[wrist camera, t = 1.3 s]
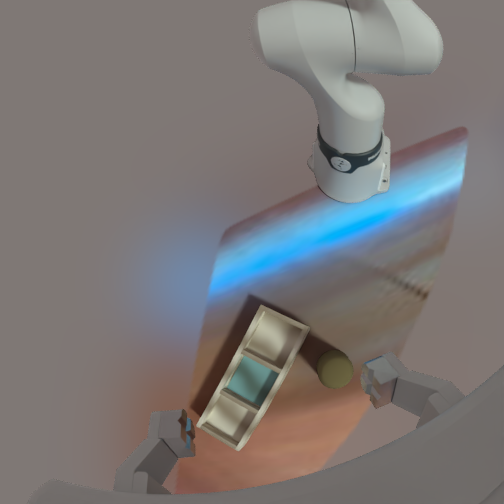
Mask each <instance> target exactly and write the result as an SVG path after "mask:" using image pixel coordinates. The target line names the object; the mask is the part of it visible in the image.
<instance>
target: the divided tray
mask: <svg viewBox="0 0 504 504" xmlns="http://www.w3.org/2000/svg"><path fill="white" fill-rule="evenodd" d="M309 330H310V327H308V326H306V325H303V324H301V323H299V322H297V321H295V320H293V319H290V318H288V317H286V316H284V315H282V314H280V313H278V312H276V311H273V310H271V309H269V308H267V307H265V306H263V305H260V307H259V309H258V311H257V313H256V315H255V317H254V319H253V321H252V323H251V325H250V327H249V329H248V330H247V332H246V334H245V336H244V338H243V340H242V342H241V344H240V346H239V348H238V350H237V352H236V354H235V355H234V357H233V359H232V361H231V363H230V365H229V367H228V369H227V370H226V372H225V374H224V376H223V378H222V380H221V382H220V383H219V385H218V387H217V389H216V391H215V393H214V394H213V396H212V398H211V400H210V402H209V404H208V405H207V407H206V409H205V411H204V413H203V414H202V416H201V418H200V420H199V422H198V423H197V425H196V426H198V427H199V428H201V429H202V430H204V431H205V432H207V433H208V434H210V435H212V436H213V437H215V438H217V439H218V440H220V441H222V442H223V443H225V444H227V445H228V446H230V447H232V448H234V449H235V450H237V451H240V450H241V449H242V448H243V446H244V445H245V444H246V442H247V441H248V439H249V438H250V436H251V435H252V433H253V431H254V430H255V428H256V427H257V425H258V423H259V422H260V420H261V418H262V417H263V415H264V413H265V412H266V410H267V408H268V407H269V405H270V403H271V401H272V400H273V398H274V396H275V395H276V393H277V391H278V389H279V387H280V386H281V384H282V382H283V380H284V378H285V377H286V375H287V373H288V371H289V369H290V367H291V365H292V364H293V362H294V360H295V358H296V356H297V354H298V352H299V350H300V348H301V346H302V344H303V342H304V340H305V338H306V336H307V334H308V332H309Z"/></svg>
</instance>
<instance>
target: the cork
mask: <svg viewBox="0 0 504 504" xmlns="http://www.w3.org/2000/svg"><path fill="white" fill-rule="evenodd" d="M317 372H318V377H319V379H320V381H321V383H322V384H323V385H325V386H326V387H328V388H333V389H336V388H341V387H343V386H345V385H346V384H347V383H348V382H349V381H350V380H351V378H352V375H353V365H352V362H351V361H350V360H349V359H348V357H347V356H346V354H345V353H343V352H341V351H338V350H330V351H328V352H325V353H324V354H323V355H322V356H321V357H320V358H319V360H318V362H317Z"/></svg>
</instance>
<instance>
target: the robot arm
mask: <svg viewBox="0 0 504 504" xmlns="http://www.w3.org/2000/svg"><path fill="white" fill-rule="evenodd" d="M249 40H250V44H251V47H252V49H253V51H254V53H255V55H256V56H257V57H258V59H259V60H260V61H261V62H262V63H263V64H265V65H266V66H267V67H269V68H270V69H272V70H276V71H278V72H280V73H283V74H285V75H287V76H289V77H290V78H292V79H294V80H295V81H297V82H298V83H299V84H300V85H301V86H302V87H304V88H305V89H306V90H307V92H308V93H309V94H310V95H311V97H312V98H313V100H314V103H315V106H316V110H317V114H318V120H319V124H318V129H317V139H316V141H315V142H313V154H312V156H311V157H310V158H309V159H308V166H309V168H310V169H311V170H312V171H313V172H314V174H315V177H316V181H317V183H318V185H319V187H320V188H321V190H322V191H323V192H324V193H325V194H326V195H328V196H329V197H331V198H333V199H335V200H337V201H341V202H345V203H356V202H361V201H364V200H366V199H368V198H370V197H371V196H373V195H375V194H379V193H384V192H387V191H388V190H389V182H390V140H389V139H388V138H387V137H386V136H385V135H384V130H383V129H382V125H383V118H384V111H385V106H384V101H383V98H382V96H381V95H380V93H379V92H378V91H377V90H376V89H375V88H374V87H373V86H372V85H371V84H370V83H369V82H367V81H366V80H364V79H362V78H360V77H358V76H356V75H354V74H352V73H353V72H362V73H378V74H388V75H397V76H405V75H425V74H431V73H432V72H433V71H434V70H435V69H436V68H437V67H438V65H439V64H440V62H441V59H442V55H443V42H442V38H441V35H440V32H439V30H438V28H437V27H436V25H435V24H434V22H433V21H432V20H431V19H430V17H429V16H427V15H426V14H425V13H424V12H423V11H422V10H421V9H420V8H419V7H418V6H417V5H416V4H415V3H414V2H413V1H412V0H290V1H286V2H282V3H279V4H275V5H272V6H268V7H265V8H262V9H260V10H259V11H258V12H257V13H256V15H255V16H254V18H253V19H252V22H251V24H250V29H249ZM383 181H385V182H383ZM362 371H363V374H362V375H361V385H362V387H363V390H364V391H365V393H366V394H369V395H370V401H371V402H372V404H373V405H374V407H375V408H376V409H377V408H379V407H382V406H384V405H386V404H389V403H391V402H392V403H393V404H394V405H396V406H398V407H401V408H403V409H405V410H407V411H409V412H411V413H413V414H415V415H417V416H419V417H420V419H419V422H418V424H417V427H416V428H417V429H416V430H414V431H412V432H410V433H408V434H407V435H404V436H403V437H401V438H399V439H397V440H395V441H393V442H391V443H389V444H387V445H385V446H383V447H381V448H378V449H376V450H374V451H372V452H369V453H367V454H365V455H362V456H360V457H358V458H355V459H353V460H350V461H347V462H345V463H342V464H339V465H336V466H334V467H331V468H328V469H325V470H322V471H318V472H315V473H312V474H308V475H305V476H301V477H298V478H294V479H290V480H286V481H282V482H277V483H273V484H268V485H263V486H258V487H252V488H246V489H239V490H232V491H223V492H213V493H200V494H171V493H170V492H169V491H168V490H167V489H166V488H164V487H163V486H162V484H163V482H164V481H165V479H166V477H167V476H168V474H169V473H170V471H171V470H172V468H173V467H174V465H175V464H176V462H177V460H178V458H184V457H193V456H196V453H195V444H194V442H193V440H194V438H195V429H194V425H193V423H192V421H191V419H189V418H187V413H186V411H185V410H184V409H181V410H170V411H159V412H152V414H151V417H150V423H149V430H148V437H147V439H144V440H143V442H142V443H141V444H140V445H139V446H138V447H137V448H136V449H135V450H134V452H132V454H131V455H130V456H129V457H128V458H127V459H126V460H125V461H124V462H123V463H122V464H121V465H120V467H119V468H118V469H117V470H116V476H115V483H114V489H113V491H110V490H103V489H97V488H91V487H86V486H81V485H76V484H72V483H68V482H63V481H60V480H55V479H52V480H49V481H48V482H46V483H45V484H43V485H42V486H41V487H39V488H38V489H37V490H35V491H34V492H33V493H32V495H31V496H30V498H29V500H28V503H27V504H504V365H503V366H502V367H501V368H500V369H499V370H498V371H497V372H496V373H494V374H493V375H492V376H491V377H490V378H489V379H487V380H486V381H485V382H484V383H483V384H482V385H480V386H479V387H478V388H476V389H475V390H474V391H473V392H471V393H470V394H469V395H467V396H466V397H465V396H464V395H463V394H462V393H461V392H460V390H459V389H458V388H457V387H456V386H455V385H454V384H453V383H452V382H450V381H447V380H443V379H440V378H436V377H433V376H429V375H425V374H422V373H419V372H416V371H409V370H408V369H407V368H406V367H405V366H404V365H403V364H402V362H401V361H400V360H399V359H398V358H397V357H396V356H395V354H394V353H393V352H389V353H387V354H384V355H382V356H379V357H377V358H375V359H372V360H370V361H367V362H365V363H363V364H362Z"/></svg>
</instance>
